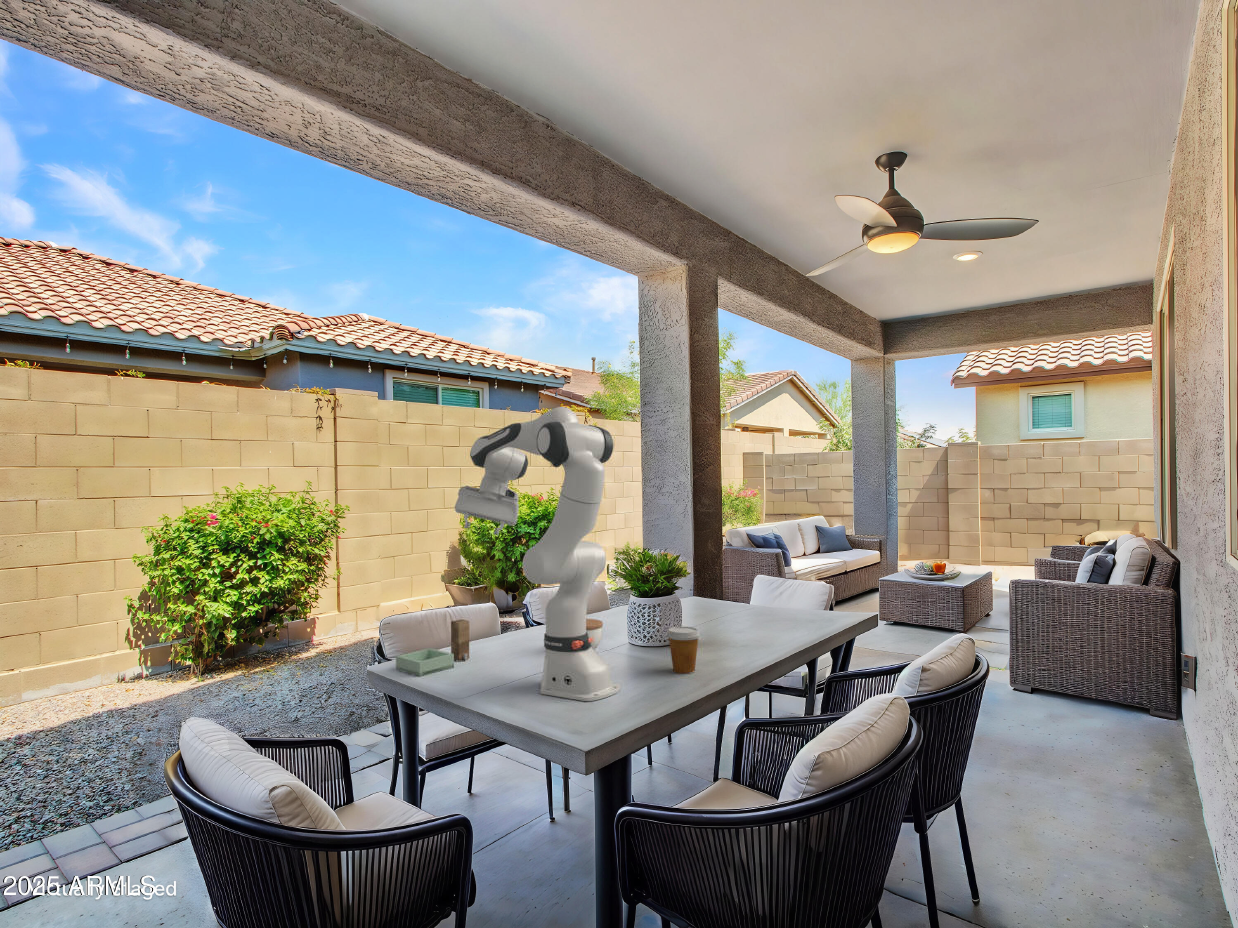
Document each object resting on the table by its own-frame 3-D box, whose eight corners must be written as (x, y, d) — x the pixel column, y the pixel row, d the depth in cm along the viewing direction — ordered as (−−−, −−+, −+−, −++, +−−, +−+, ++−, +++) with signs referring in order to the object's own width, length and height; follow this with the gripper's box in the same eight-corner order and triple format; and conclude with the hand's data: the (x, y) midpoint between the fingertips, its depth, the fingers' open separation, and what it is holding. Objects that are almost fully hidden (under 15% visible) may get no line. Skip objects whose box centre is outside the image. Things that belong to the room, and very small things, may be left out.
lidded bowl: (586, 656, 207) (585, 621, 207) (557, 651, 215) (556, 617, 215) (610, 648, 217) (610, 615, 217) (581, 643, 225) (581, 611, 225)
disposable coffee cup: (702, 667, 194) (701, 626, 194) (697, 676, 184) (697, 633, 185) (671, 665, 196) (670, 625, 196) (664, 674, 187) (664, 632, 187)
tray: (453, 667, 197) (453, 653, 197) (419, 676, 187) (419, 662, 187) (430, 660, 204) (430, 648, 204) (396, 669, 195) (396, 656, 195)
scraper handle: (471, 659, 205) (471, 621, 206) (461, 662, 202) (460, 623, 203) (459, 656, 209) (459, 618, 210) (449, 659, 206) (449, 620, 206)
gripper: (460, 480, 208) (448, 520, 202) (523, 495, 211) (512, 535, 205) (461, 487, 214) (449, 526, 208) (521, 502, 216) (511, 541, 210)
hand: (481, 531), depth 206 cm, fingers open, 8 cm apart
